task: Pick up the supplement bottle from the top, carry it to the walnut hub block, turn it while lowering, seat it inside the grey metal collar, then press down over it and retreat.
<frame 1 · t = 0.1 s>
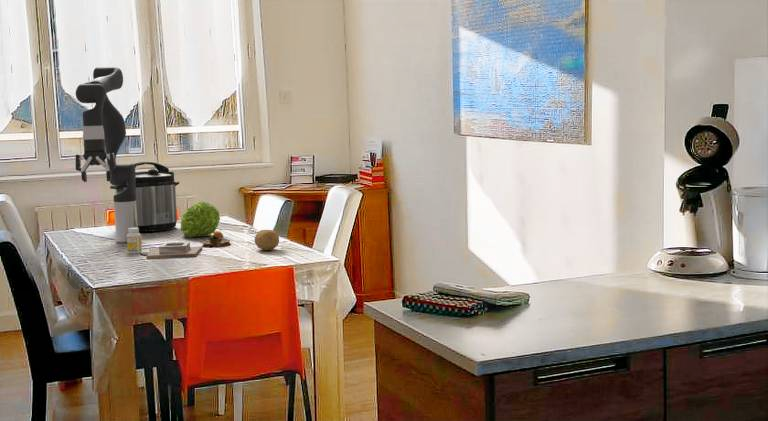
hand: (96, 181, 337), 29 cm above the table, fingers open, 8 cm apart
pressure cooker: (147, 230, 422), on the table
lettuce: (199, 236, 396), on the table
supplement bottle: (134, 253, 353), on the table
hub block: (175, 254, 346), on the table
potato: (267, 250, 349), on the table
burger: (215, 246, 367), on the table
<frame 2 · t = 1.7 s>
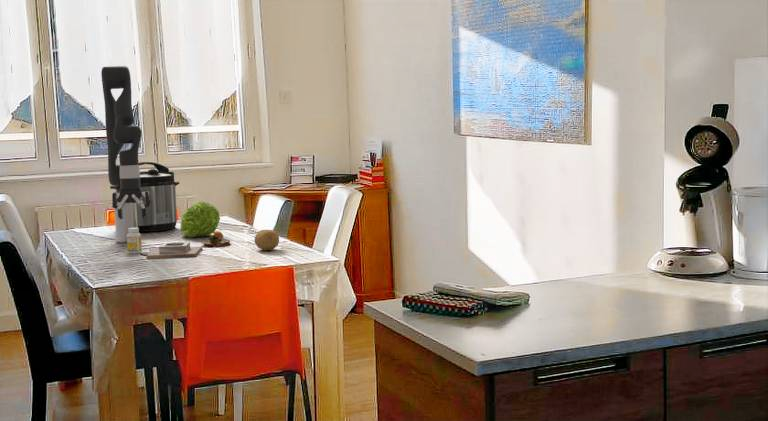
hand: (132, 218, 351), 13 cm above the table, fingers open, 8 cm apart
nothing on the table moved.
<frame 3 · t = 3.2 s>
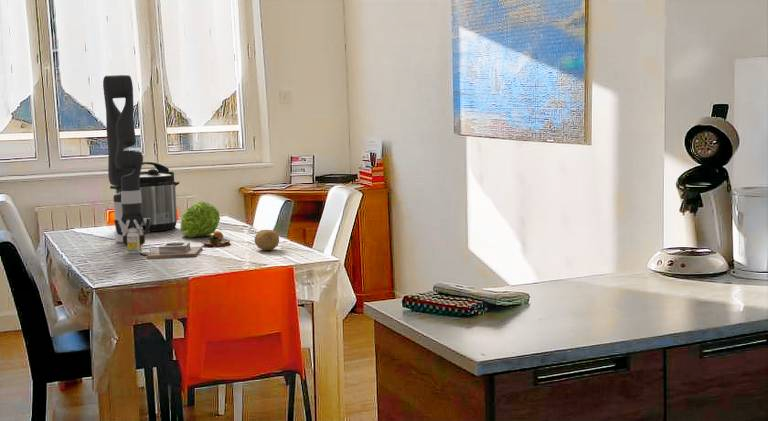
hand: (134, 244, 353), 3 cm above the table, fingers closed on supplement bottle, 5 cm apart
supplement bottle: (134, 252, 353), on the table, touching gripper
everything else where it was.
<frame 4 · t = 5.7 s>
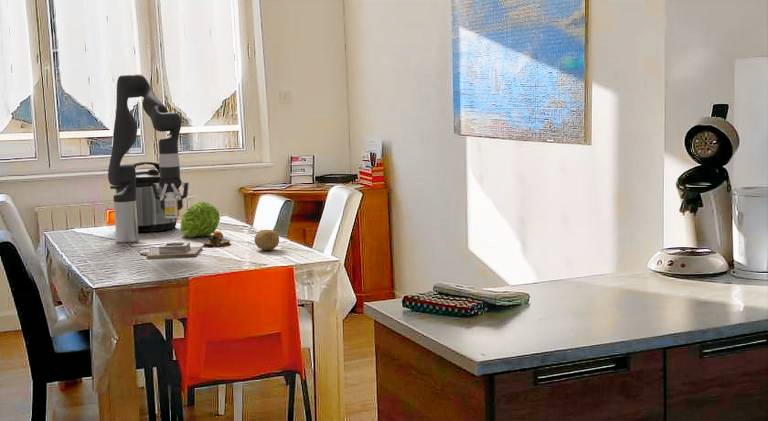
hand: (171, 209, 344), 17 cm above the table, fingers closed on supplement bottle, 5 cm apart
supplement bottle: (172, 218, 344), point 14 cm above the table, touching gripper
everything else where it was.
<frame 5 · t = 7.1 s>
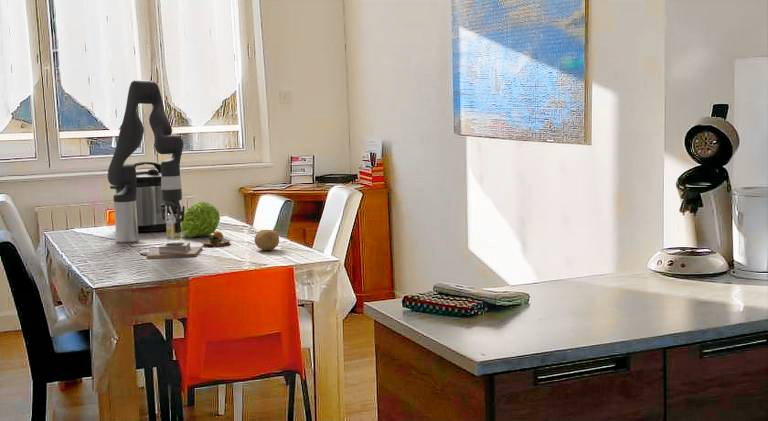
hand: (173, 231, 345), 9 cm above the table, fingers closed on supplement bottle, 5 cm apart
supplement bottle: (174, 240, 345), point 5 cm above the table, touching gripper
everything else where it was.
when the fingers open (5 cm above the table, at t = 8.3 s): supplement bottle stays where it is, resting on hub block.
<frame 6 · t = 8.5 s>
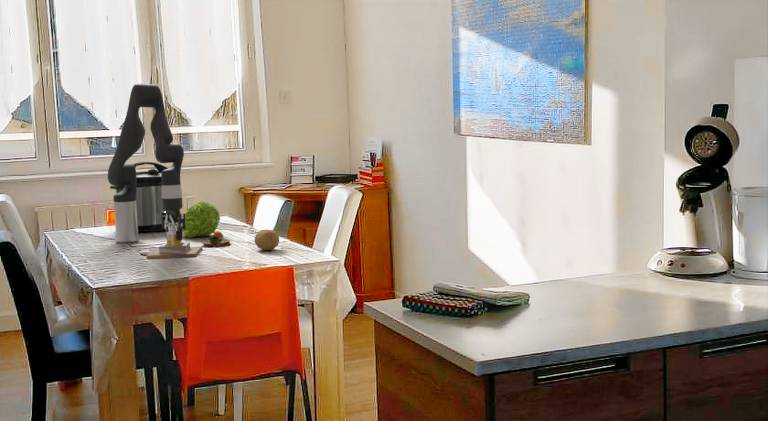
hand: (174, 239, 345), 6 cm above the table, fingers open, 7 cm apart
supplement bottle: (174, 251, 346), point 1 cm above the table, touching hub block
everything else where it was.
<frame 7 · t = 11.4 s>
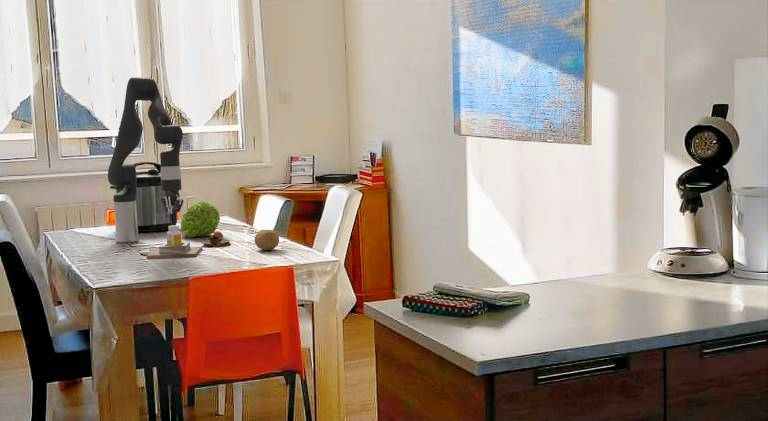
hand: (173, 223, 345), 12 cm above the table, fingers closed
nothing on the table moved.
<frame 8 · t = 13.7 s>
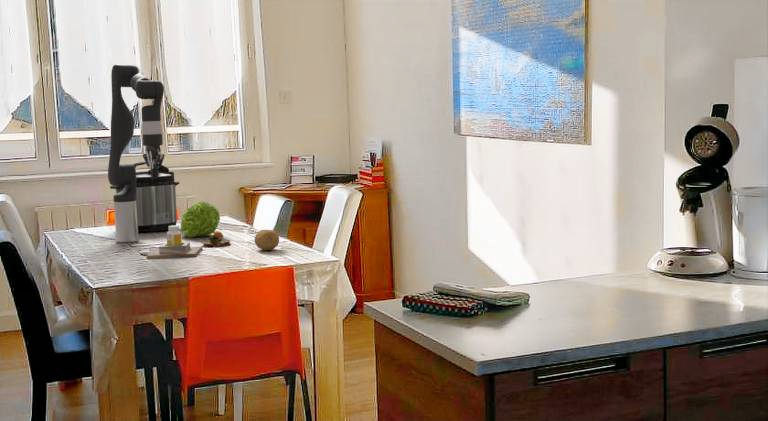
hand: (154, 178, 347), 29 cm above the table, fingers closed
nothing on the table moved.
at the end: supplement bottle 0.1 cm off-centre on the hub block, point 1.0 cm above the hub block's base; supplement bottle tilted 0°; the gripper is holding nothing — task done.
